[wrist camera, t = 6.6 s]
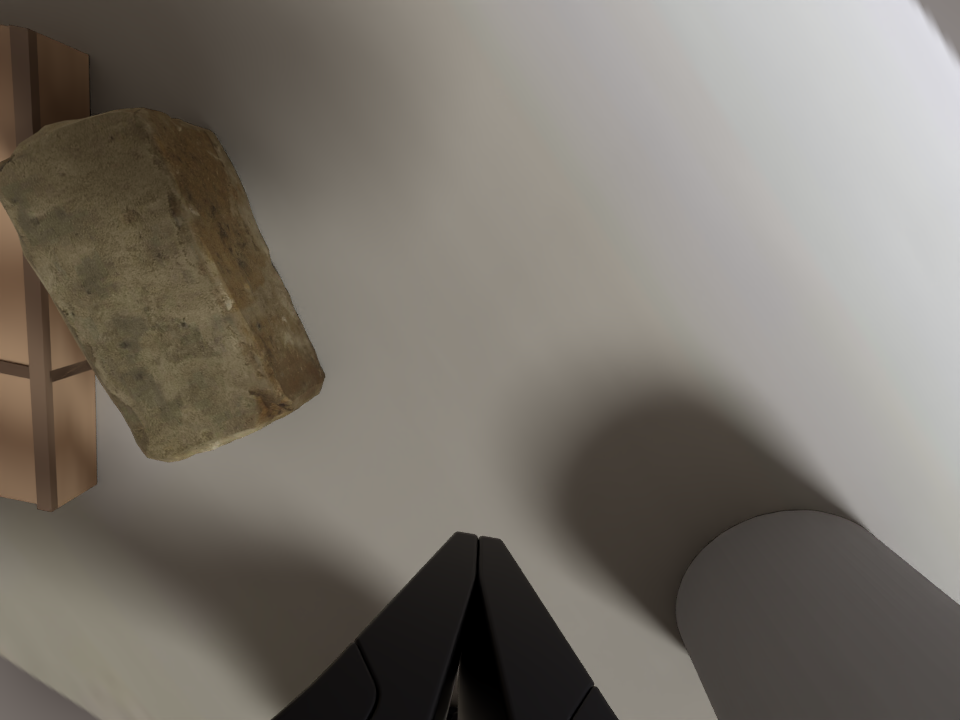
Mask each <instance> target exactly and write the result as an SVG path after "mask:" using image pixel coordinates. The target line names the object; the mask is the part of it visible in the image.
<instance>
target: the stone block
mask: <svg viewBox="0 0 960 720" xmlns="http://www.w3.org/2000/svg"><path fill="white" fill-rule="evenodd" d="M0 202H1V204H2V205H3V207H4V209H5V210H6V212H7V214H8V216H9V218H10V220H11V222H12V224H13V225H14V227H15V229H16V231H17V233H18V237H19V240H20V244H21V247H22V251H23V255H24V256H25V258H26V259H27V261H28V262H29V264H30V265H31V267H32V268H33V270H34V271H35V273H36V274H37V276H38V277H39V279H40V280H41V282H42V284H43V285H44V287H45V288H46V290H47V291H48V293H49V294H50V296H51V298H52V300H53V302H54V304H55V306H56V307H57V309H58V311H59V313H60V315H61V316H62V318H63V320H64V322H65V323H66V325H67V327H68V329H69V331H70V332H71V334H72V336H73V338H74V339H75V341H76V343H77V345H78V346H79V348H80V350H81V351H82V353H83V355H84V356H85V358H86V360H87V361H88V363H89V365H90V366H91V368H92V370H93V371H94V373H95V375H96V376H97V378H98V380H99V381H100V383H101V384H102V386H103V387H104V389H105V390H106V392H107V393H108V395H109V396H110V398H111V399H112V401H113V402H114V404H115V405H116V406H117V408H118V409H119V411H120V412H121V414H122V415H123V417H124V419H125V421H126V422H127V424H128V426H129V428H130V429H131V431H132V434H133V436H134V438H135V440H136V443H137V445H138V446H139V447H140V449H141V450H142V452H143V453H144V454H145V455H146V457H147V458H151V459H155V460H159V461H164V462H174V461H180V460H183V459H186V458H189V457H190V456H192V455H194V454H197V453H202V452H207V451H211V450H214V449H216V448H218V447H220V446H222V445H225V444H228V443H230V442H232V441H234V440H236V439H240V438H242V437H244V436H247V435H249V434H251V433H253V432H256V431H258V430H260V429H262V428H263V427H265V426H267V425H269V424H271V423H272V422H273V421H275V420H278V419H280V418H283V417H285V416H286V415H288V414H290V413H291V412H293V411H295V410H297V409H298V408H299V407H301V406H302V405H303V404H304V403H306V402H308V401H309V400H311V399H312V398H313V397H314V396H316V395H318V394H319V393H320V391H321V389H322V385H323V381H324V378H325V373H324V372H323V370H322V368H321V367H320V364H319V361H318V358H317V355H316V352H315V350H314V348H313V346H312V344H311V342H310V340H309V338H308V336H307V334H306V331H305V329H304V327H303V325H302V323H301V321H300V319H299V317H298V315H297V313H296V311H295V310H294V307H293V304H292V301H291V298H290V295H289V293H288V291H287V290H286V289H285V287H284V285H283V282H282V280H281V278H280V276H279V275H278V273H277V272H276V270H275V269H274V267H273V266H272V264H271V259H270V254H269V249H268V247H267V246H266V244H265V242H264V240H263V238H262V236H261V234H260V232H259V229H258V227H257V224H256V222H255V219H254V217H253V214H252V211H251V208H250V204H249V201H248V198H247V195H246V193H245V191H244V188H243V186H242V184H241V181H240V179H239V177H238V175H237V173H236V171H235V169H234V167H233V165H232V163H231V161H230V160H229V158H228V156H227V154H226V153H225V151H224V149H223V147H222V146H221V144H220V142H219V141H218V139H217V137H216V135H215V134H214V133H213V132H212V131H210V130H207V129H204V128H201V127H198V126H195V125H192V124H190V123H187V122H183V121H182V120H181V119H176V118H174V119H172V118H170V117H169V116H168V115H167V114H165V113H163V112H160V111H156V110H151V109H147V108H126V109H118V110H112V111H109V112H105V113H102V114H98V115H94V116H90V117H86V118H82V119H75V120H65V121H61V122H57V123H53V124H49V125H45V126H44V127H43V128H42V129H40V130H39V131H38V132H37V133H35V134H34V135H32V136H30V137H29V138H27V139H25V140H24V141H22V142H21V143H19V144H18V146H17V147H16V149H15V150H14V152H13V153H12V155H11V157H9V158H7V159H5V160H3V161H1V162H0Z"/></svg>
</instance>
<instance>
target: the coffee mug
mask: <svg viewBox="0 0 960 720" xmlns="http://www.w3.org/2000/svg"><path fill="white" fill-rule="evenodd" d="M676 620H677V625H678V629H679V632H680V635H681V637H682V640H683V642H684V644H685V646H686V649H687V651H688V653H689V655H690V658H691V660H692V662H693V664H694V667H695V669H696V671H697V673H698V676H699V678H700V680H701V682H702V685H703V687H704V689H705V691H706V694H707V696H708V698H709V700H710V703H711V705H712V707H713V709H714V712H715V714H716V716H717V718H718V720H960V605H959V604H957V603H956V602H955V601H954V600H953V599H951V598H950V597H949V596H948V595H946V594H945V593H944V592H943V591H941V590H940V589H939V588H938V587H936V586H935V585H934V584H933V583H932V582H930V581H929V580H928V579H927V578H925V577H924V576H923V575H922V574H920V573H919V572H918V571H917V570H915V569H914V568H913V567H912V566H911V565H909V564H908V563H907V562H906V561H904V560H903V559H902V558H901V557H899V556H898V555H897V554H896V553H895V552H893V551H892V550H891V549H890V548H888V547H887V546H886V545H885V544H883V543H882V542H881V541H880V540H878V539H877V538H876V537H875V536H874V535H872V534H871V533H870V532H868V531H867V530H866V529H864V528H863V527H861V526H859V525H857V524H856V523H854V522H852V521H850V520H848V519H845V518H842V517H839V516H836V515H833V514H829V513H825V512H820V511H811V510H796V511H780V512H775V513H770V514H766V515H761V516H758V517H754V518H752V519H749V520H746V521H744V522H742V523H740V524H738V525H736V526H734V527H732V528H730V529H728V530H727V531H725V532H724V533H722V534H720V535H719V536H718V537H716V538H715V539H714V540H713V541H712V542H710V543H709V544H708V545H707V546H706V547H705V548H703V550H702V551H701V552H700V553H699V554H698V555H697V557H696V558H695V559H694V560H693V562H692V563H691V564H690V566H689V568H688V569H687V571H686V573H685V575H684V577H683V579H682V581H681V584H680V588H679V591H678V595H677V600H676Z"/></svg>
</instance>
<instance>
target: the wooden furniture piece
mask: <svg viewBox="0 0 960 720" xmlns="http://www.w3.org/2000/svg"><path fill="white" fill-rule="evenodd" d="M86 117H90V98H89V55H88V54H85V53H83V52H81V51H78V50H76V49H74V48H71V47H69V46H67V45H65V44H62V43H60V42H58V41H55V40H53V39H51V38H48V37H46V36H44V35H42V34H39V33H37V32H35V31H32V30H30V29H28V28H23V27H18V26H13V25H9V27H8V26H4V25H0V162H1V161H3V160H5V159H7V158H9V157H11V155H12V153H13V152H14V150H15V149H16V147H17V146H18V144H19V143H21V142H22V141H24V140H25V139H27V138H29V137H30V136H32V135H34V134H35V133H37V132H38V131H39V130H40V129H42V128H43V127H44V126H45V125H49V124H53V123H57V122H61V121H65V120H75V119H82V118H86ZM96 484H97V456H96V405H95V373H94V371H93V370H92V368H91V366H90V365H89V363H88V361H87V360H86V358H85V356H84V355H83V353H82V351H81V350H80V348H79V346H78V345H77V343H76V341H75V339H74V338H73V336H72V334H71V332H70V331H69V329H68V327H67V325H66V323H65V322H64V320H63V318H62V316H61V315H60V313H59V311H58V309H57V307H56V306H55V304H54V302H53V300H52V298H51V296H50V294H49V293H48V291H47V290H46V288H45V287H44V285H43V284H42V282H41V280H40V279H39V277H38V276H37V274H36V273H35V271H34V270H33V268H32V267H31V265H30V264H29V262H28V261H27V259H26V258H25V256H24V255H23V251H22V247H21V244H20V240H19V237H18V233H17V231H16V229H15V227H14V225H13V224H12V222H11V220H10V218H9V216H8V214H7V212H6V210H5V209H4V207H3V205H2V204H1V202H0V497H5V498H10V499H15V500H20V501H25V502H30V503H35V504H37V509H38V510H43V511H48V512H53V511H54V510H56V509H57V508H59V507H61V506H62V505H64V504H66V503H67V502H69V501H70V500H72V499H74V498H75V497H77V496H79V495H80V494H82V493H83V492H85V491H87V490H88V489H90V488H92V487H93V486H95V485H96Z"/></svg>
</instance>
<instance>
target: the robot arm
mask: <svg viewBox="0 0 960 720" xmlns="http://www.w3.org/2000/svg"><path fill="white" fill-rule="evenodd" d="M459 662H460V663H459ZM458 667H459V676H458V708H456V707H451V706H450V702H451V698H452V694H453V690H454V685H455V681H456V676H457V671H458ZM271 720H619V719H618V718H617V717H616V715H615V714H614V712H613V711H612V709H611V708H610V706H609V705H608V703H607V702H606V700H605V698H604V697H603V695H602V694H601V692H600V691H599V689H598V688H597V687H596V686H594V682H593V680H592V679H591V677H590V676H589V674H588V673H587V671H586V669H585V668H584V666H583V665H582V663H581V662H580V660H579V659H578V657H577V656H576V654H575V652H574V651H573V649H572V648H571V646H570V645H569V643H568V642H567V640H566V639H565V637H564V635H563V634H562V632H561V631H560V629H559V628H558V626H557V625H556V623H555V622H554V620H553V618H552V617H551V615H550V614H549V612H548V611H547V609H546V608H545V606H544V605H543V603H542V601H541V600H540V598H539V597H538V595H537V594H536V592H535V591H534V589H533V588H532V586H531V584H530V583H529V581H528V580H527V578H526V577H525V575H524V574H523V572H522V571H521V569H520V567H519V566H518V564H517V563H516V561H515V560H514V558H513V557H512V555H511V554H510V552H509V550H508V549H507V547H506V546H505V544H504V543H503V541H502V540H501V539H498V538H492V537H486V536H480V537H479V539H478V537H477V536H476V535H475V534H470V533H464V532H455V533H454V534H453V535H452V536H451V537H450V538H449V540H448V541H447V542H446V543H445V544H444V545H443V546H442V547H441V548H440V549H439V550H438V551H437V552H436V553H435V554H434V556H433V557H432V558H431V559H430V560H429V561H428V562H427V563H426V564H425V565H424V566H423V567H422V568H421V569H420V570H419V572H418V573H417V574H416V575H415V576H414V577H413V578H412V579H411V580H410V581H409V582H408V583H407V584H406V585H405V587H404V588H403V589H402V590H401V591H400V592H399V593H398V594H397V595H396V596H395V597H394V598H393V599H392V600H391V601H390V603H389V604H388V605H387V606H386V607H385V608H384V609H383V610H382V611H381V612H380V613H379V614H378V615H377V616H376V617H375V619H374V620H373V621H372V622H371V623H370V624H369V625H368V626H367V627H366V628H365V629H364V630H363V631H362V632H361V634H360V635H359V636H358V637H357V638H356V639H355V641H354V643H351V644H350V645H349V646H348V647H347V648H346V649H345V650H344V651H343V652H342V654H341V655H340V656H339V657H338V658H337V659H336V660H335V661H334V662H333V663H332V664H331V665H330V666H329V667H328V668H327V669H326V670H325V671H324V672H323V673H322V674H321V675H320V676H319V677H318V678H317V679H316V680H315V681H314V682H313V683H312V684H311V685H310V686H309V687H308V688H307V689H305V690H304V691H303V692H302V693H301V694H300V695H299V696H298V697H296V698H295V699H294V700H293V701H292V702H291V703H290V704H289V705H287V706H286V707H285V708H284V709H283V710H282V711H281V712H279V713H278V714H277V715H276V716H275V717H274V718H272V719H271Z"/></svg>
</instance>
